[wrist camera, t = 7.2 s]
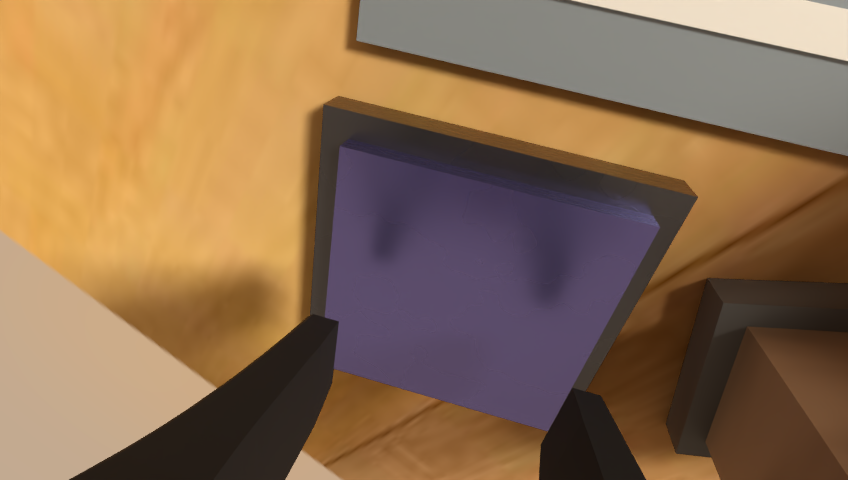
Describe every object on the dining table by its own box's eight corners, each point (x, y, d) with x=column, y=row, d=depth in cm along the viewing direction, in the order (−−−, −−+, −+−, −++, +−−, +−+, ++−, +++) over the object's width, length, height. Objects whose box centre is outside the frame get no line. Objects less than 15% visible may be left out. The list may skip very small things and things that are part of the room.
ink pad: (684, 181, 11) (708, 208, 9) (558, 410, 15) (561, 450, 14) (338, 96, 11) (313, 109, 10) (318, 340, 16) (299, 373, 15)
